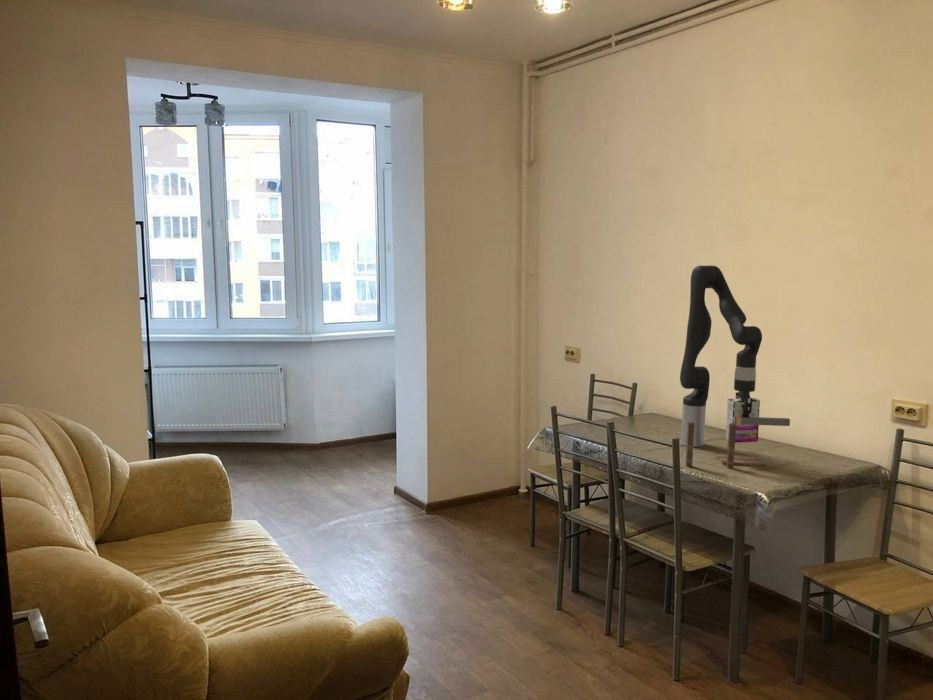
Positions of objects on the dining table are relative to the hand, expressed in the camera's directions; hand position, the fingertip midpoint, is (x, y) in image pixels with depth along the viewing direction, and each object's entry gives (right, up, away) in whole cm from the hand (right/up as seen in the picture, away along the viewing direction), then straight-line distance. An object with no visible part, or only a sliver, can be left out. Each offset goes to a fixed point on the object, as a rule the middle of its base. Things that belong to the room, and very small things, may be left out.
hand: (742, 421), depth 273 cm
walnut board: (0, -16, +2) cm, 16 cm away
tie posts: (-15, -16, -7) cm, 23 cm away
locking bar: (+3, 0, -10) cm, 11 cm away
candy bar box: (0, -8, +1) cm, 8 cm away
